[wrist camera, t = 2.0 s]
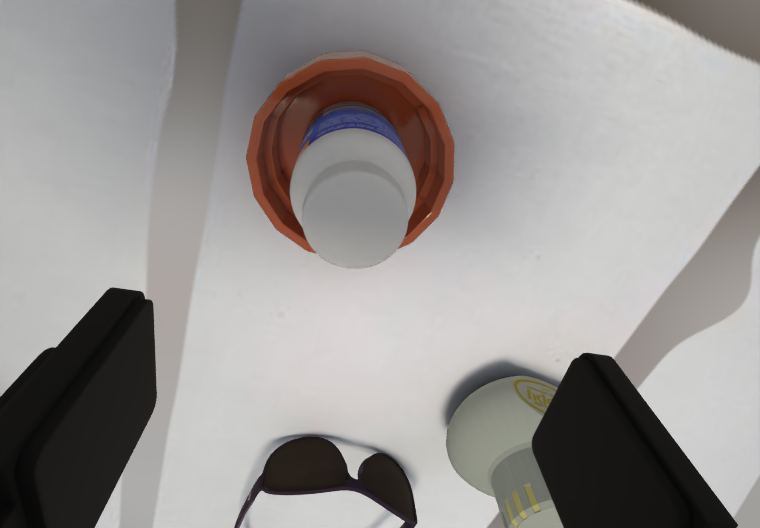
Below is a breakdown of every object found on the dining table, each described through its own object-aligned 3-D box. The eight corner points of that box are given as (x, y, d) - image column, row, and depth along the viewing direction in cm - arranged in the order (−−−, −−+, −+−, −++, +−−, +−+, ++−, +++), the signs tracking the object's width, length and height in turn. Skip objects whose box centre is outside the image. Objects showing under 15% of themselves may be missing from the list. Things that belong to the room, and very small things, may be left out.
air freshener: (591, 393, 36) (667, 514, 28) (530, 456, 40) (581, 581, 31) (478, 350, 33) (524, 469, 25) (423, 422, 37) (446, 549, 28)
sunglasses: (426, 458, 39) (436, 515, 35) (355, 555, 46) (355, 612, 41) (275, 419, 36) (265, 476, 31) (221, 529, 42) (207, 589, 38)
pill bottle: (294, 104, 24) (264, 157, 15) (397, 94, 24) (423, 141, 15) (311, 201, 26) (293, 291, 18) (403, 191, 26) (428, 277, 18)
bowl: (226, 157, 25) (207, 181, 22) (339, 4, 22) (337, 3, 19) (361, 257, 29) (363, 291, 26) (476, 139, 26) (496, 159, 22)
